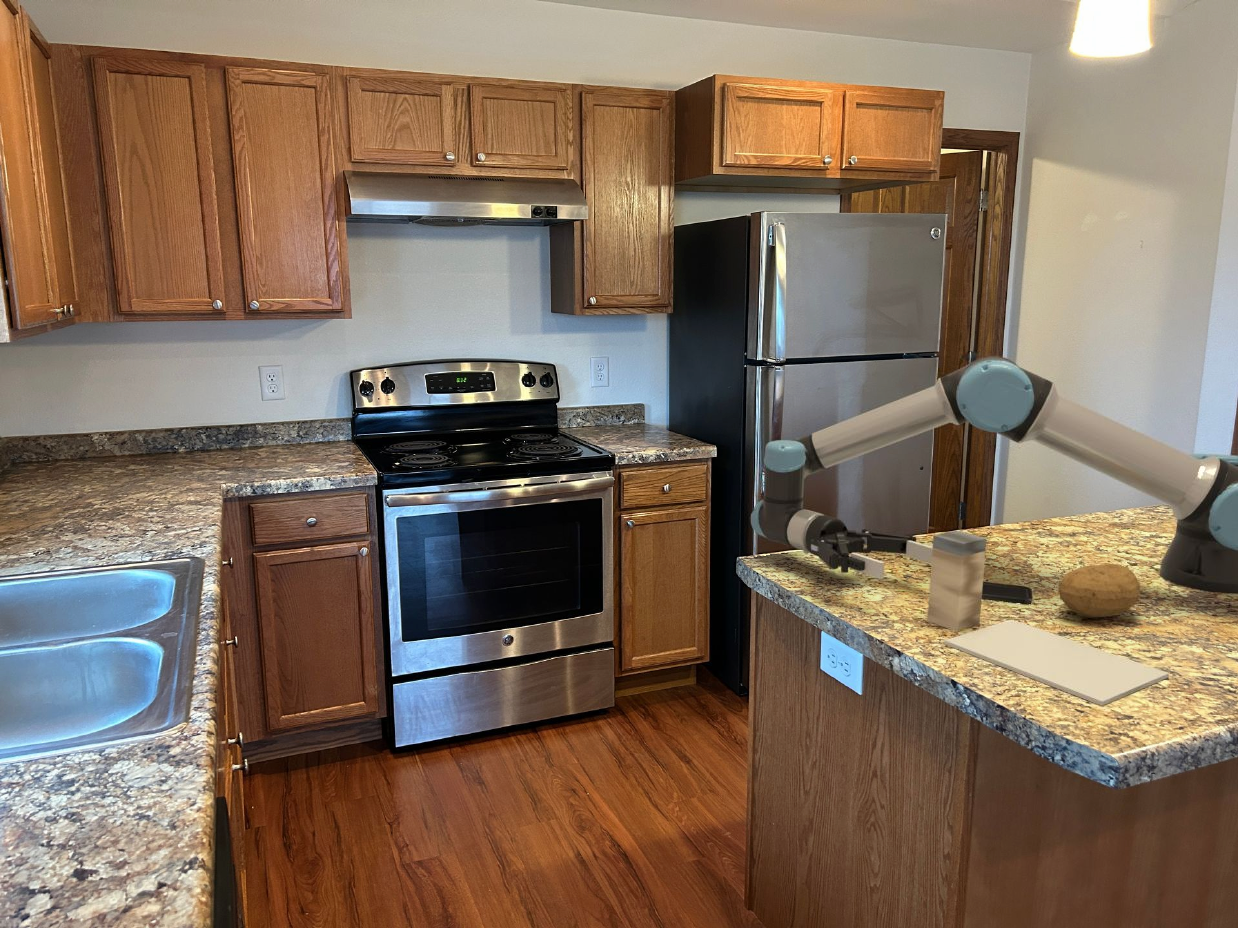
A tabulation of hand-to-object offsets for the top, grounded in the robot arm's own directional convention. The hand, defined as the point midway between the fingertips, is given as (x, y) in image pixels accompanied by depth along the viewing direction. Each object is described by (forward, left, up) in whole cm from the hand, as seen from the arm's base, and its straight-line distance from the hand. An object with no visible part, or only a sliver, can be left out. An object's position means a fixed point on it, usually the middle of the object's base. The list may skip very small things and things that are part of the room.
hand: (911, 564), depth 150 cm
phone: (-14, -10, -8) cm, 19 cm away
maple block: (-6, +6, -7) cm, 11 cm away
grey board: (-17, +19, -7) cm, 27 cm away
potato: (-29, -1, -8) cm, 30 cm away
